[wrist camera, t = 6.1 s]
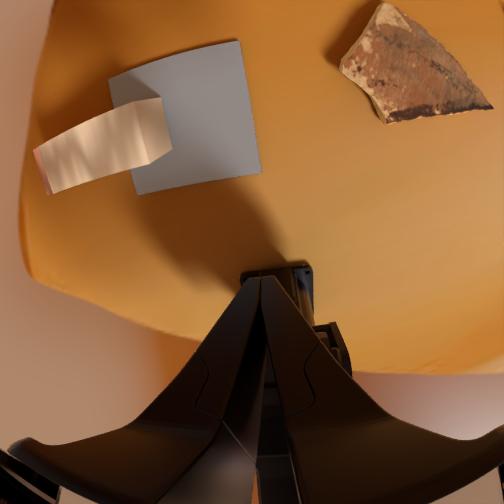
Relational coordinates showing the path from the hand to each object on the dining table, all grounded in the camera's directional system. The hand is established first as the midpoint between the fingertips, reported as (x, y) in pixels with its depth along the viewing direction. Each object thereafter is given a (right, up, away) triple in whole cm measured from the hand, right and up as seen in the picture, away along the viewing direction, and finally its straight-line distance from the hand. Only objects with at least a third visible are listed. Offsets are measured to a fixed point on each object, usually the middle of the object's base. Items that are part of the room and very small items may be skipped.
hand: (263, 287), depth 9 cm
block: (-7, +9, +7) cm, 13 cm away
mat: (-5, +11, +9) cm, 15 cm away
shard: (+12, +16, +6) cm, 21 cm away
